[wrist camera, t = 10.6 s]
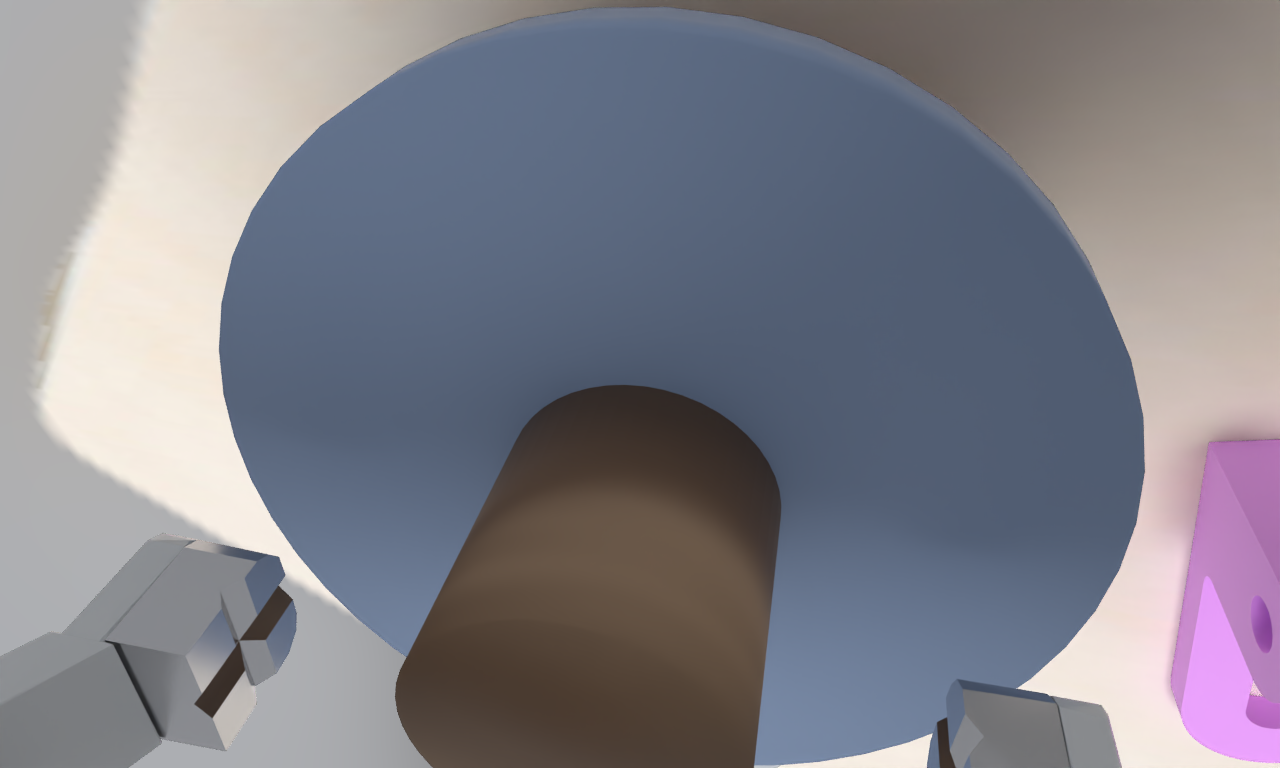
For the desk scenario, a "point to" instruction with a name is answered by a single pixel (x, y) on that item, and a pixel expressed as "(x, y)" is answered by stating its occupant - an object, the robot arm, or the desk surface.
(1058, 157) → the desk surface
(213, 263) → the desk surface
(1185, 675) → the bracket
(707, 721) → the lid
